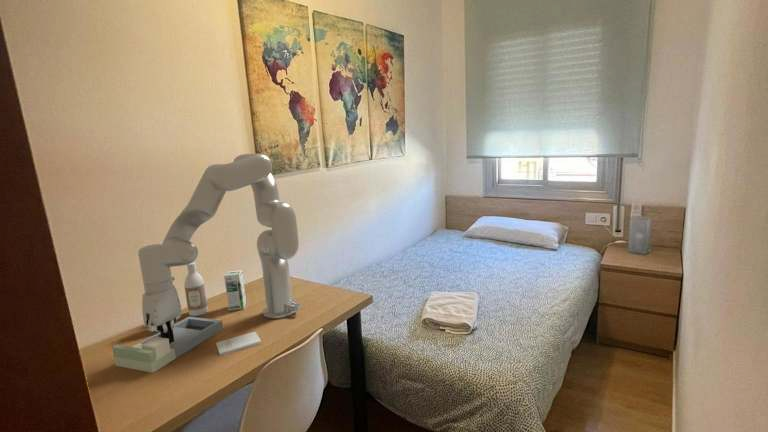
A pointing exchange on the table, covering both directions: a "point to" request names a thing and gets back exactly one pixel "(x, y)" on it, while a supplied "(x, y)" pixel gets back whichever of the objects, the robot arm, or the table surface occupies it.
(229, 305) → the syrup box
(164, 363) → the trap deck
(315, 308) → the table surface
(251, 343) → the external hard drive
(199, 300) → the bath foam
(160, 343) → the block
